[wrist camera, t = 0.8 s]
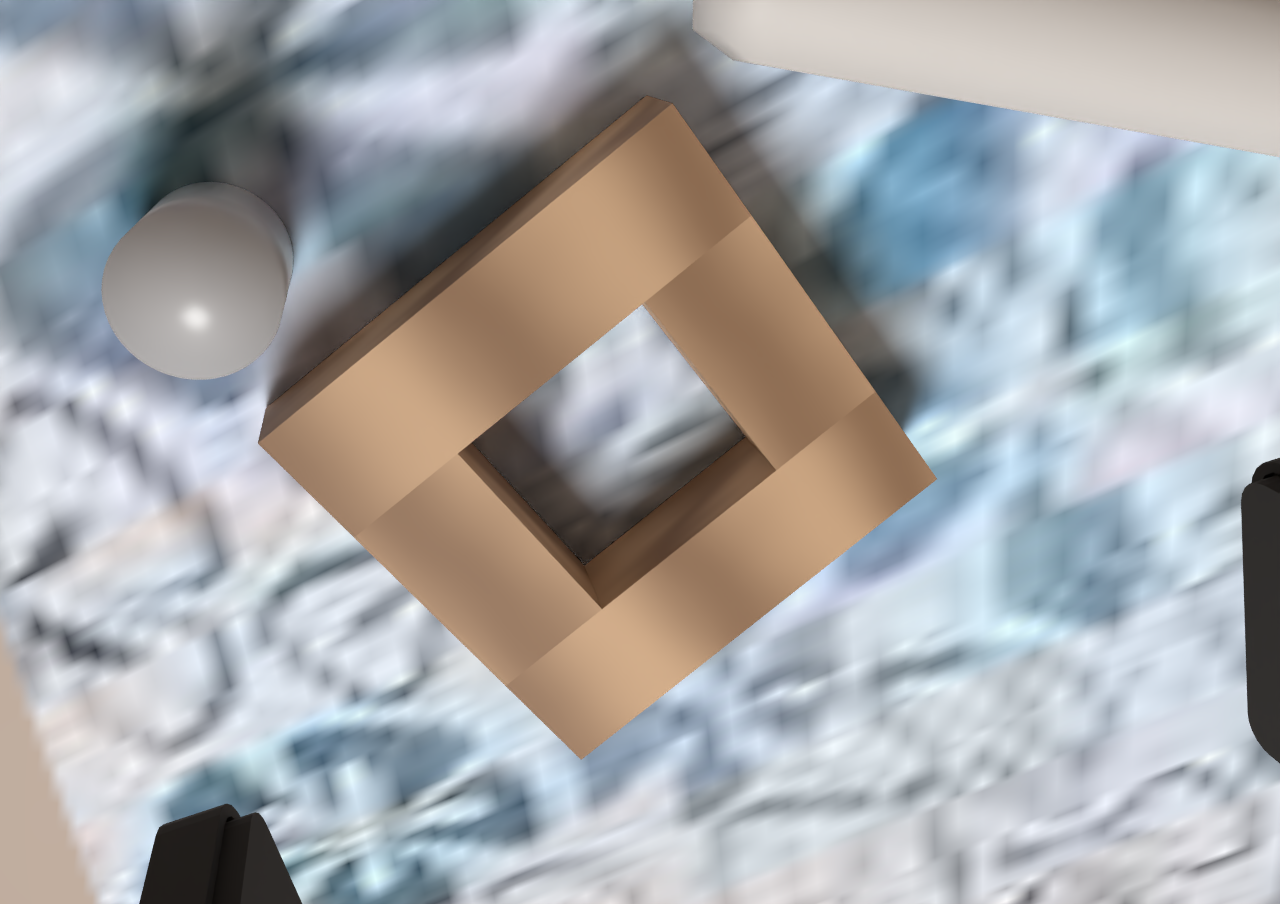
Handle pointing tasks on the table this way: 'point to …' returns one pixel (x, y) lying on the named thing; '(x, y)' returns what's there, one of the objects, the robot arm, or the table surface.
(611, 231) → the holder
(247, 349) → the short grey peg
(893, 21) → the tube
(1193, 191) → the table surface
